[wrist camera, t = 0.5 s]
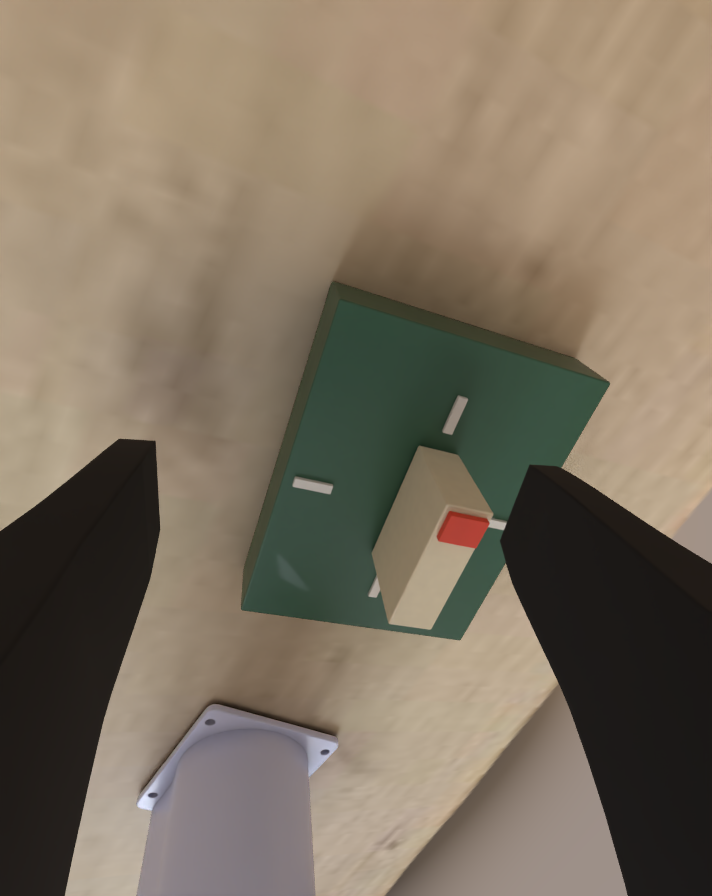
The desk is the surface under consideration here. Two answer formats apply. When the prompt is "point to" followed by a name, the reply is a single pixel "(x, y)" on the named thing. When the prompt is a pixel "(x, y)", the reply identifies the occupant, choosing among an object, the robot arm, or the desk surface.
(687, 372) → the desk surface
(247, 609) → the console
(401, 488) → the red topped block
